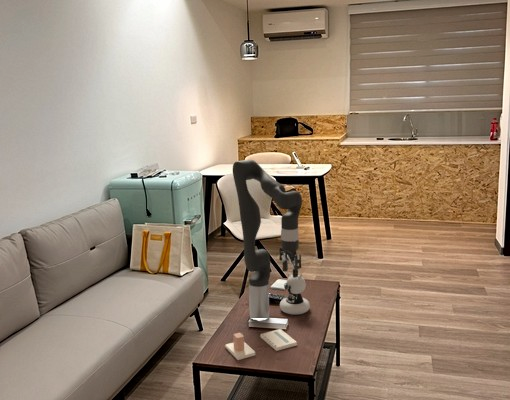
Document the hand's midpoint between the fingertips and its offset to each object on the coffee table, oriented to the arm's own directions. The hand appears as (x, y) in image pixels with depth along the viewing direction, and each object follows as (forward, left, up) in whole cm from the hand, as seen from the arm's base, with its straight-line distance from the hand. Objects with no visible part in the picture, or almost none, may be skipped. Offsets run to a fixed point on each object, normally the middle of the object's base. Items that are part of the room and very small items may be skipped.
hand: (290, 274), depth 229 cm
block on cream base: (+3, -26, -28) cm, 39 cm away
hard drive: (-52, +25, -29) cm, 65 cm away
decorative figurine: (-21, +15, -28) cm, 38 cm away
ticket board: (+3, -8, -28) cm, 29 cm away
